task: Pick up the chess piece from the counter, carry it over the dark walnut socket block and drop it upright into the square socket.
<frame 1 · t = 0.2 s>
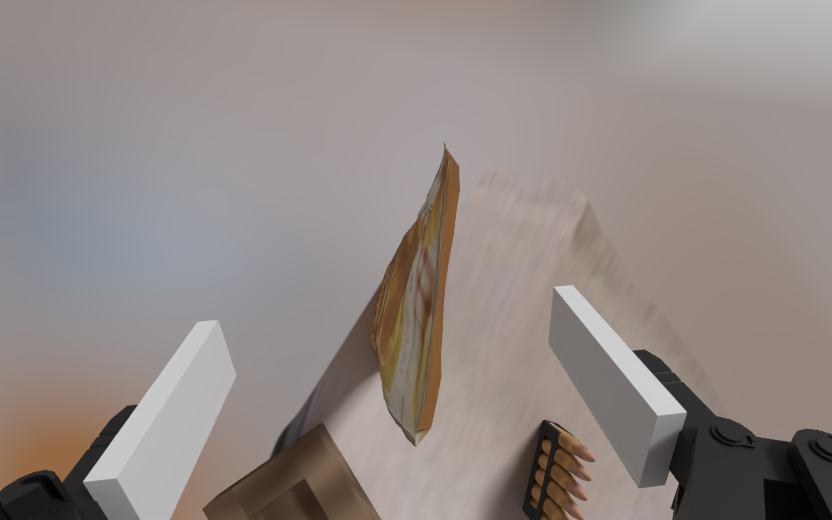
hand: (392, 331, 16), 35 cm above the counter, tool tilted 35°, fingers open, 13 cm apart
ammunition clip: (539, 465, 49), on the counter
pancake mix bag: (405, 307, 52), on the counter
socket block: (302, 510, 47), on the counter
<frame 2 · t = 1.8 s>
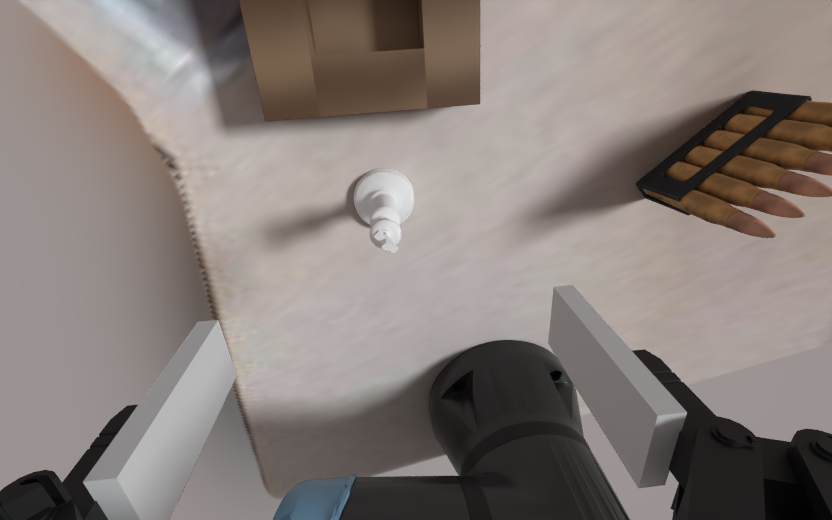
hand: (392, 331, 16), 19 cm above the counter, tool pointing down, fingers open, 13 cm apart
chess piece: (384, 197, 33), on the counter
ammunition clip: (694, 146, 33), on the counter
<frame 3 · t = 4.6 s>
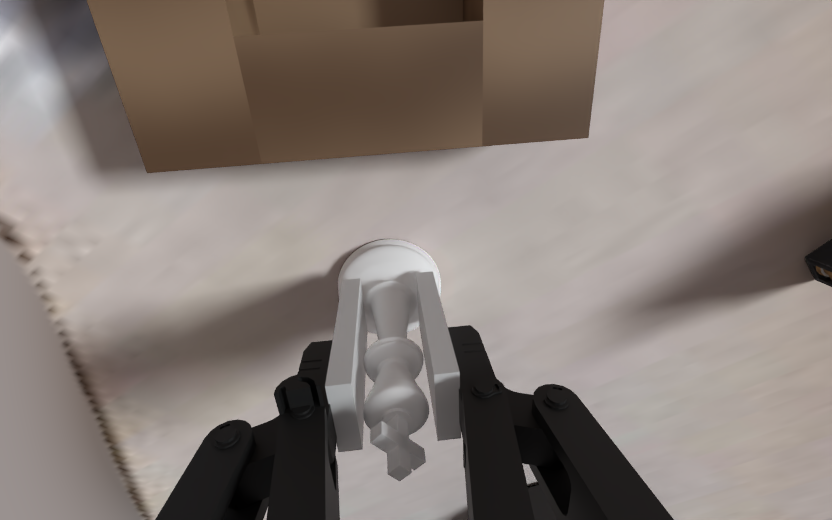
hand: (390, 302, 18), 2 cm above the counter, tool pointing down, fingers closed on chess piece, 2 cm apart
chess piece: (389, 284, 20), on the counter, touching gripper
when the fingers open (5 cm above the counter, at t = 10.8 s): chess piece drops 3 cm, resting on socket block.
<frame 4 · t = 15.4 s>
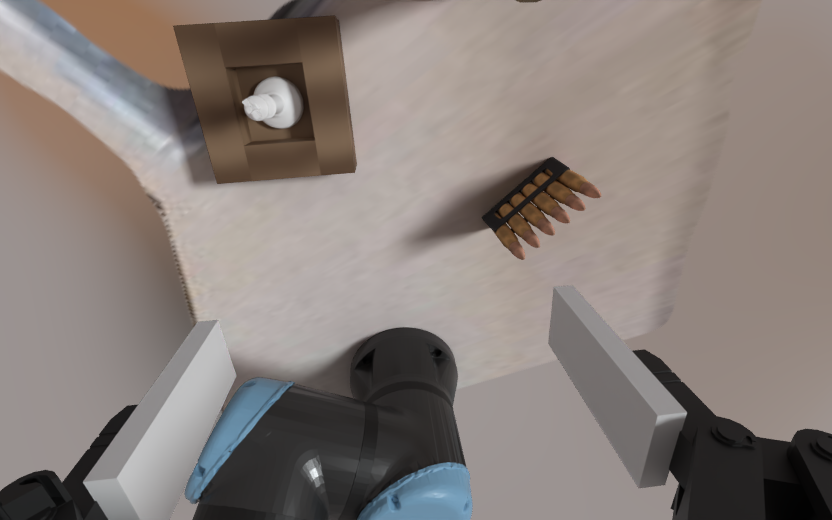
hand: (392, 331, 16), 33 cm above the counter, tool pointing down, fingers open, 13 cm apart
chess piece: (279, 103, 41), point 1 cm above the counter, touching socket block
ammunition clip: (519, 192, 49), on the counter
socket block: (281, 102, 42), on the counter
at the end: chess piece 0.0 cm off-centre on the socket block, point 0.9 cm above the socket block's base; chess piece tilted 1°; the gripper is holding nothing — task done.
